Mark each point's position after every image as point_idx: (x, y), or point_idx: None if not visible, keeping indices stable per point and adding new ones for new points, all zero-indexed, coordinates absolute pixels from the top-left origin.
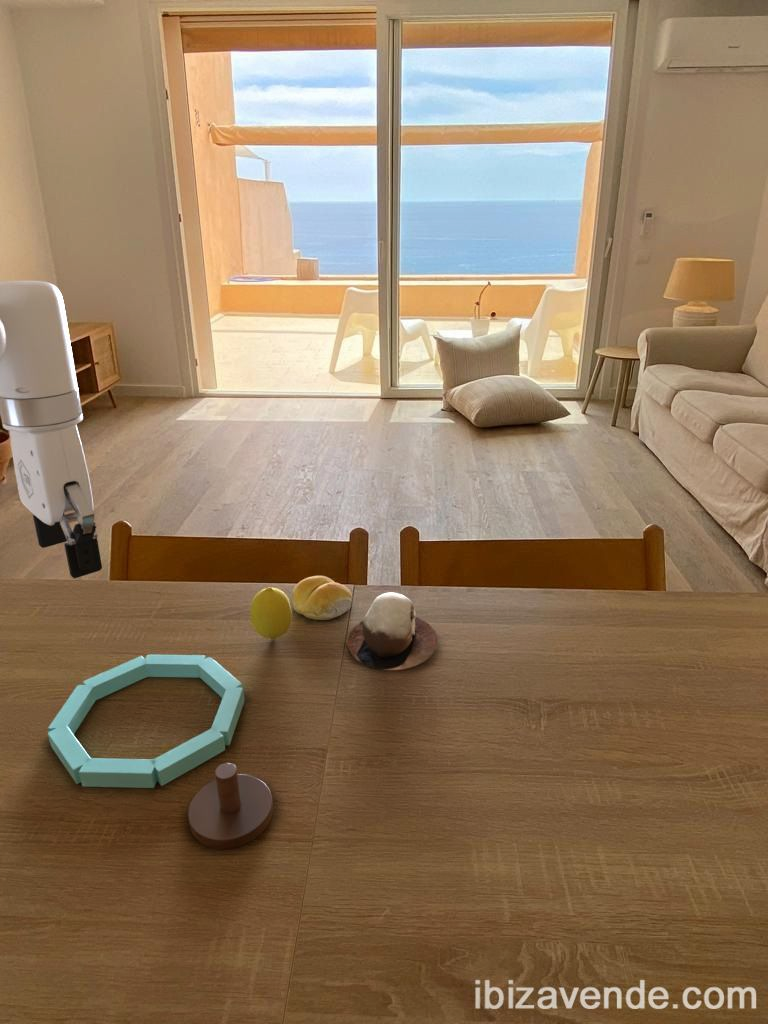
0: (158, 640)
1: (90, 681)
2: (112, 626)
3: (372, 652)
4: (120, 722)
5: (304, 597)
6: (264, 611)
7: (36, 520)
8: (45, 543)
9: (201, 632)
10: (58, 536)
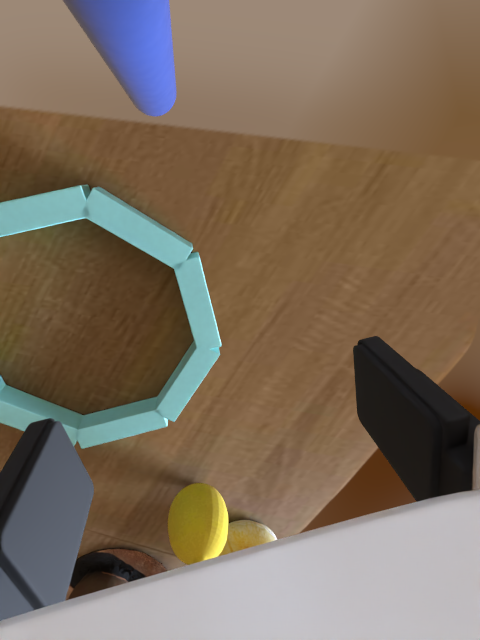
0: (278, 364)
1: (191, 268)
2: (356, 313)
3: (103, 567)
4: (104, 286)
5: (234, 548)
6: (176, 530)
7: (427, 413)
8: (360, 360)
9: (263, 416)
10: (369, 409)
